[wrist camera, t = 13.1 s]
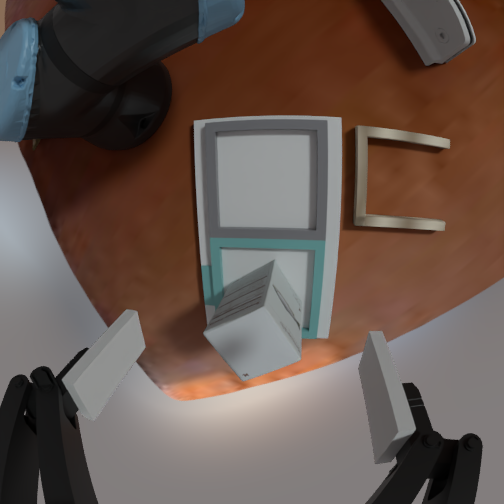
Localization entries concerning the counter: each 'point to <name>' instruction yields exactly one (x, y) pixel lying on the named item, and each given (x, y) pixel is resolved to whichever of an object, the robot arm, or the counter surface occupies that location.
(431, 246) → the counter surface
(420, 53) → the gray curved slotted casing
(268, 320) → the supplement box
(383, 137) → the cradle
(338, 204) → the pocket plate
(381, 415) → the robot arm
